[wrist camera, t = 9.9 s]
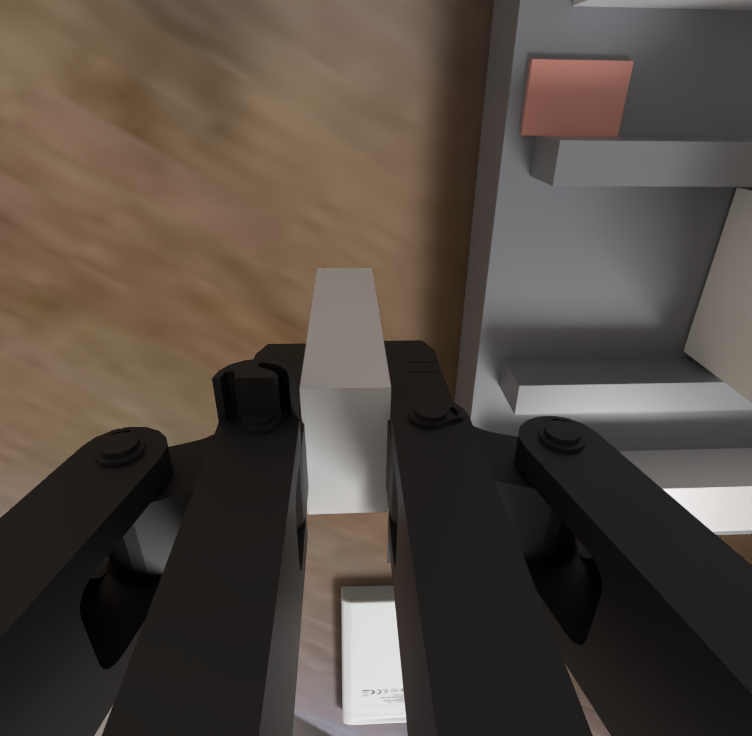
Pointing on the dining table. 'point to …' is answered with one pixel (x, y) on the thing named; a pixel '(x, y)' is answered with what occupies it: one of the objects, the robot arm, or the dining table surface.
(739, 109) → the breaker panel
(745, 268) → the block
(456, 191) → the dining table surface
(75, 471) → the robot arm
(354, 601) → the external hard drive
